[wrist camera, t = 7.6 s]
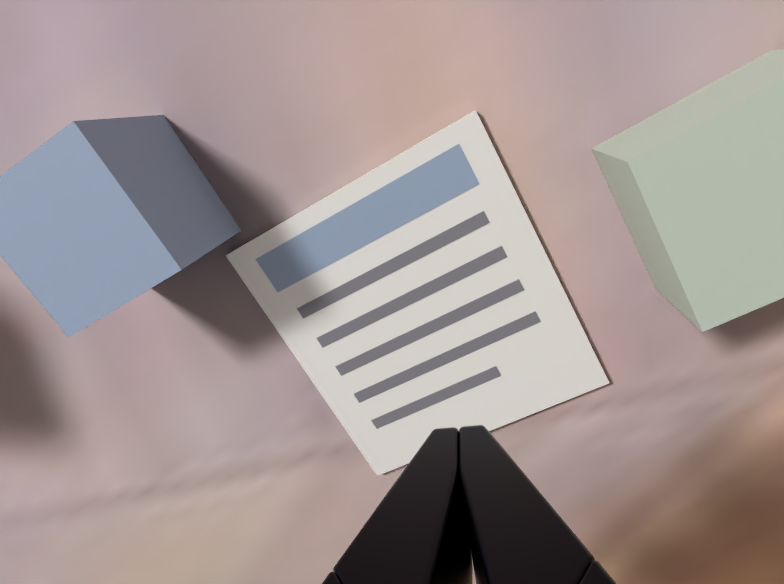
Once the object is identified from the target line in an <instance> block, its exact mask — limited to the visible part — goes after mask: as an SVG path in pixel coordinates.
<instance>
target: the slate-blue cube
mask: <svg viewBox="0 0 784 584" xmlns="http://www.w3.org/2000/svg"><path fill="white" fill-rule="evenodd" d="M240 231H241V229H240V227H239V226H238V225H237V223H236V222H235V220H234V219H233V217H232V216H231V214H230V213H229V211H228V210H227V208H226V207H225V205H224V204H223V202H222V201H221V199H220V198H219V196H218V195H217V193H216V192H215V191H214V189H213V188H212V186H211V185H210V183H209V182H208V180H207V179H206V177H205V176H204V174H203V173H202V171H201V170H200V168H199V167H198V165H197V164H196V162H195V161H194V159H193V158H192V157H191V155H190V154H189V152H188V151H187V149H186V148H185V146H184V145H183V143H182V142H181V140H180V139H179V137H178V136H177V134H176V133H175V131H174V130H173V128H172V127H171V125H170V124H169V123H168V121H167V120H166V118H165V117H164V115H157V116H142V117H128V118H113V119H99V120H84V121H73V122H72V123H70V124H69V125H68V126H66V127H65V128H64V129H62V130H61V131H60V132H58V133H57V134H56V135H54V136H53V137H52V138H50V139H49V140H48V141H46V142H45V143H44V144H43V145H41V146H40V147H39V148H37V149H36V150H35V151H33V152H32V153H31V154H29V155H28V156H27V157H25V158H24V159H23V160H21V161H20V162H19V163H17V164H16V165H15V166H13V167H12V168H11V169H9V170H8V171H7V172H5V173H4V174H3V175H1V176H0V256H1V257H2V258H3V260H4V261H5V262H6V263H7V264H8V266H9V267H10V268H11V269H12V270H13V272H14V273H15V274H16V275H17V276H18V278H19V279H20V280H21V281H22V282H23V284H24V285H25V286H26V287H27V288H28V290H29V291H30V292H31V293H32V294H33V296H34V297H35V298H36V299H37V300H38V302H39V303H40V304H41V305H42V306H43V308H44V309H45V310H46V311H47V312H48V314H49V315H50V316H51V317H52V318H53V320H54V321H55V322H56V323H57V324H58V326H59V327H60V328H61V329H62V330H63V332H64V333H65V334H66V335H67V336H68V338H69V337H70V336H72V335H74V334H75V333H77V332H79V331H80V330H82V329H84V328H85V327H87V326H89V325H90V324H92V323H94V322H95V321H97V320H99V319H100V318H102V317H104V316H105V315H107V314H109V313H110V312H112V311H114V310H115V309H117V308H119V307H120V306H122V305H124V304H125V303H127V302H129V301H130V300H132V299H134V298H135V297H137V296H139V295H140V294H142V293H144V292H145V291H147V290H149V289H150V288H152V287H154V286H156V285H157V284H159V283H161V282H162V281H164V280H166V279H167V278H169V277H171V276H172V275H174V274H176V273H177V272H179V271H181V270H182V269H184V268H185V267H187V266H188V265H190V264H191V263H193V262H194V261H196V260H197V259H199V258H200V257H202V256H203V255H205V254H206V253H208V252H210V251H211V250H213V249H214V248H216V247H217V246H219V245H220V244H222V243H223V242H225V241H226V240H228V239H229V238H231V237H232V236H234V235H235V234H237V233H238V232H240Z"/></svg>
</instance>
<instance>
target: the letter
mask: <svg viewBox="0 0 784 584" xmlns="http://www.w3.org/2000/svg"><path fill="white" fill-rule="evenodd" d="M226 257H227V258H228V260H229V261H230V263H231V264H232V266H233V267H234V269H235V270H236V271H237V273H238V274H239V276H240V277H241V279H242V280H243V282H244V283H245V285H246V286H247V287H248V289H249V290H250V292H251V293H252V295H253V296H254V298H255V299H256V300H257V302H258V303H259V305H260V306H261V308H262V309H263V311H264V312H265V314H266V315H267V316H268V318H269V319H270V321H271V322H272V324H273V325H274V327H275V328H276V330H277V331H278V332H279V334H280V335H281V337H282V338H283V340H284V341H285V343H286V344H287V346H288V347H289V348H290V350H291V351H292V353H293V354H294V356H295V357H296V359H297V360H298V362H299V363H300V364H301V366H302V367H303V369H304V370H305V372H306V373H307V375H308V376H309V377H310V379H311V380H312V382H313V383H314V385H315V386H316V388H317V389H318V391H319V392H320V393H321V395H322V396H323V398H324V399H325V401H326V402H327V404H328V405H329V407H330V408H331V409H332V411H333V412H334V414H335V415H336V417H337V418H338V420H339V421H340V423H341V424H342V425H343V427H344V428H345V430H346V431H347V433H348V434H349V436H350V437H351V438H352V440H353V441H354V443H355V444H356V446H357V447H358V449H359V450H360V452H361V453H362V454H363V456H364V457H365V459H366V460H367V462H368V463H369V465H370V466H371V468H372V469H373V470H374V472H375V473H376V475H377V476H378V475H381V474H383V473H386V472H388V471H391V470H393V469H396V468H398V467H401V466H403V465H406V464H408V463H410V461H411V460H412V458H413V457H414V456H415V454H416V453H417V452H418V450H419V449H420V447H421V446H422V445H423V443H424V442H425V440H426V439H427V438H428V436H429V435H430V433H431V432H432V431H433V430H434V429H439V428H451V427H455V428H457V429H458V431H459V429H460V428H461V427H463V426H475V425H483V426H485V427H486V429H487V430H488V431H491V430H494V429H496V428H499V427H501V426H504V425H506V424H509V423H511V422H514V421H516V420H519V419H521V418H524V417H526V416H529V415H531V414H534V413H536V412H539V411H541V410H544V409H546V408H549V407H551V406H554V405H556V404H559V403H561V402H564V401H566V400H569V399H571V398H574V397H576V396H579V395H581V394H584V393H586V392H589V391H591V390H594V389H596V388H599V387H601V386H604V385H606V384H609V381H608V379H607V377H606V375H605V373H604V371H603V369H602V367H601V365H600V363H599V361H598V358H597V356H596V354H595V352H594V350H593V348H592V346H591V344H590V342H589V340H588V338H587V336H586V334H585V332H584V330H583V328H582V326H581V324H580V322H579V320H578V318H577V316H576V314H575V312H574V310H573V307H572V305H571V303H570V301H569V299H568V297H567V295H566V293H565V291H564V289H563V287H562V285H561V283H560V281H559V279H558V277H557V275H556V273H555V271H554V269H553V267H552V265H551V263H550V261H549V259H548V257H547V254H546V252H545V250H544V248H543V246H542V244H541V242H540V240H539V238H538V236H537V234H536V232H535V230H534V228H533V226H532V224H531V222H530V220H529V218H528V216H527V214H526V212H525V210H524V208H523V206H522V204H521V201H520V199H519V197H518V195H517V193H516V191H515V189H514V187H513V185H512V183H511V181H510V179H509V177H508V175H507V173H506V171H505V169H504V167H503V165H502V163H501V161H500V159H499V157H498V155H497V153H496V150H495V148H494V146H493V144H492V142H491V140H490V138H489V136H488V134H487V132H486V130H485V128H484V126H483V124H482V122H481V120H480V118H479V116H478V114H477V112H476V110H474V111H473V112H471V113H469V114H468V115H466V116H464V117H462V118H461V119H459V120H457V121H456V122H454V123H452V124H450V125H449V126H447V127H445V128H444V129H442V130H440V131H438V132H437V133H435V134H433V135H431V136H430V137H428V138H426V139H425V140H423V141H421V142H419V143H418V144H416V145H414V146H413V147H411V148H409V149H407V150H406V151H404V152H402V153H401V154H399V155H397V156H395V157H394V158H392V159H390V160H388V161H387V162H385V163H383V164H382V165H380V166H378V167H376V168H375V169H373V170H371V171H370V172H368V173H366V174H364V175H363V176H361V177H359V178H358V179H356V180H354V181H352V182H351V183H349V184H347V185H345V186H344V187H342V188H340V189H339V190H337V191H335V192H333V193H332V194H330V195H328V196H327V197H325V198H323V199H321V200H320V201H318V202H316V203H315V204H313V205H311V206H309V207H308V208H306V209H304V210H302V211H301V212H299V213H297V214H296V215H294V216H292V217H290V218H289V219H287V220H285V221H284V222H282V223H280V224H278V225H277V226H275V227H273V228H272V229H270V230H268V231H266V232H265V233H263V234H261V235H259V236H258V237H256V238H254V239H253V240H251V241H249V242H247V243H246V244H244V245H242V246H241V247H239V248H237V249H235V250H234V251H232V252H230V253H229V254H227V255H226Z"/></svg>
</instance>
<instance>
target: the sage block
mask: <svg viewBox="0 0 784 584" xmlns="http://www.w3.org/2000/svg"><path fill="white" fill-rule="evenodd" d="M592 151H593V154H594V156H595V158H596V160H597V162H598V164H599V167H600V169H601V171H602V173H603V175H604V178H605V180H606V182H607V184H608V186H609V188H610V191H611V193H612V195H613V197H614V199H615V202H616V204H617V206H618V208H619V210H620V212H621V215H622V217H623V219H624V221H625V223H626V226H627V228H628V230H629V232H630V234H631V236H632V239H633V241H634V243H635V245H636V247H637V250H638V252H639V254H640V256H641V258H642V260H643V263H644V265H645V267H646V269H647V271H648V274H649V276H650V278H651V280H652V282H653V285H654V287H655V289H656V290H657V291H658V292H659V293H660V294H661V295H663V296H664V297H665V298H666V299H667V300H668V301H669V302H670V303H671V304H672V305H673V306H675V307H676V308H677V309H678V310H679V311H680V312H681V313H682V314H683V315H684V316H685V317H687V318H688V319H689V320H690V321H691V322H692V323H693V324H694V325H695V326H696V327H697V328H699V329H700V330H701V331H702V332H704V331H706V330H709V329H711V328H713V327H716V326H718V325H721V324H723V323H725V322H728V321H730V320H732V319H735V318H737V317H739V316H742V315H744V314H747V313H749V312H751V311H754V310H756V309H758V308H761V307H763V306H765V305H768V304H770V303H772V302H775V301H777V300H780V299H782V298H784V49H779V50H772V51H769V52H767V53H766V54H764V55H762V56H760V57H758V58H756V59H755V60H753V61H751V62H749V63H747V64H745V65H744V66H742V67H740V68H738V69H736V70H734V71H733V72H731V73H729V74H727V75H725V76H723V77H722V78H720V79H718V80H716V81H714V82H712V83H711V84H709V85H707V86H705V87H703V88H701V89H700V90H698V91H696V92H694V93H692V94H691V95H689V96H687V97H685V98H683V99H681V100H680V101H678V102H676V103H674V104H672V105H670V106H669V107H667V108H665V109H663V110H661V111H659V112H658V113H656V114H654V115H652V116H650V117H648V118H647V119H645V120H643V121H641V122H639V123H637V124H636V125H634V126H632V127H630V128H628V129H626V130H625V131H623V132H621V133H619V134H617V135H615V136H614V137H612V138H610V139H608V140H606V141H604V142H603V143H601V144H599V145H597V146H595V147H593V148H592Z"/></svg>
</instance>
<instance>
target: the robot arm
mask: <svg viewBox="0 0 784 584" xmlns="http://www.w3.org/2000/svg"><path fill="white" fill-rule="evenodd" d="M472 559H473V566H474V572H475V578H476V584H616V583H615V582H614V580H613V579H612V578H611V577H610V576H609V574H608V573H607V572H606V571H605V570H604V568H603V567H602V566H601V565H600V564H599V562H597V561H595V560H594V557H593V556H592V554H591V553H590V552H589V551H588V550H587V548H586V547H585V546H584V545H583V544H582V542H581V541H580V540H579V539H578V538H577V536H576V535H575V534H574V533H573V532H572V530H571V529H570V528H569V527H568V526H567V524H566V523H565V522H564V521H563V520H562V518H561V517H560V516H559V515H558V514H557V512H556V511H555V510H554V509H553V508H552V506H551V505H550V504H549V503H548V502H547V500H546V499H545V498H544V497H543V496H542V494H541V493H540V492H539V491H538V490H537V488H536V487H535V486H534V485H533V484H532V482H531V481H530V480H529V479H528V478H527V476H526V475H525V474H524V473H523V472H522V470H521V469H520V468H519V467H518V466H517V464H516V463H515V462H514V461H513V460H512V458H511V457H510V456H509V455H508V454H507V452H506V451H505V450H504V449H503V448H502V446H501V445H500V444H499V443H498V442H497V441H496V439H495V438H494V437H493V436H492V435H491V433H490V432H489V431H488V430H487V429H486V427H485V426H483V425H475V426H463V427H461V428H460V429H459V431H458V429H457V428H455V427H451V428H439V429H434V430H433V431H432V432H431V433H430V435H429V436H428V438H427V439H426V440H425V442H424V443H423V445H422V446H421V447H420V449H419V450H418V452H417V453H416V454H415V456H414V457H413V458H412V460H411V461H410V463H409V464H408V465H407V467H406V468H405V470H404V471H403V472H402V474H401V475H400V477H399V478H398V479H397V481H396V482H395V483H394V485H393V486H392V488H391V489H390V490H389V492H388V493H387V495H386V496H385V497H384V499H383V500H382V502H381V503H380V504H379V506H378V507H377V508H376V510H375V511H374V513H373V514H372V515H371V517H370V518H369V520H368V521H367V522H366V524H365V525H364V527H363V528H362V529H361V531H360V532H359V533H358V535H357V536H356V538H355V539H354V540H353V542H352V543H351V545H350V546H349V547H348V549H347V550H346V551H345V553H344V554H343V556H342V557H341V558H340V560H339V561H338V563H337V564H336V565H335V567H334V569H333V571H334V572H330V573H329V575H328V576H327V577H326V579H325V580H324V582H323V583H322V584H472Z"/></svg>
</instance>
